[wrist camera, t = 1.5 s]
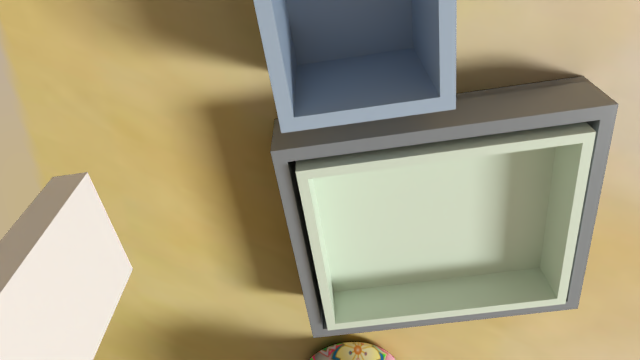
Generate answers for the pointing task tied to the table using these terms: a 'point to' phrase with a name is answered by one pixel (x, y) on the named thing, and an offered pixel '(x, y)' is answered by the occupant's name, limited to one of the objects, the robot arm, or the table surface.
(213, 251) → the table surface
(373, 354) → the mug
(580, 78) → the bottom crate
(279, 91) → the small crate
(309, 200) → the top crate
